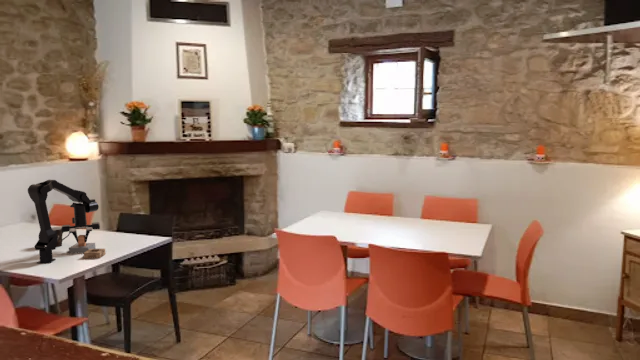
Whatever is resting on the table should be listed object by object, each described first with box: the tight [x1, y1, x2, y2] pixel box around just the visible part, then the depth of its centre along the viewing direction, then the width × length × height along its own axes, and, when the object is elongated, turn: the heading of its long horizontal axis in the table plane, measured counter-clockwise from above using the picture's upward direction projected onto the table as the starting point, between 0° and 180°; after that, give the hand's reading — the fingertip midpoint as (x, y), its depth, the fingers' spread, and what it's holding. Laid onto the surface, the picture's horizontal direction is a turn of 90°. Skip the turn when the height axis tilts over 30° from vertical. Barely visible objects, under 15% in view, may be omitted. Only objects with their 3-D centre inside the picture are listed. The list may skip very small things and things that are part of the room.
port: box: [68, 242, 96, 254], centre depth 278 cm, size 10×10×3 cm
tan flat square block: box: [83, 248, 106, 260], centre depth 267 cm, size 8×8×3 cm
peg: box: [77, 234, 87, 246], centre depth 278 cm, size 3×3×8 cm
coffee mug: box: [51, 226, 71, 248], centre depth 288 cm, size 12×9×10 cm
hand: (81, 242), depth 277 cm, fingers closed on peg, 3 cm apart
